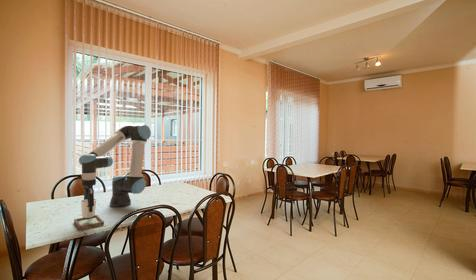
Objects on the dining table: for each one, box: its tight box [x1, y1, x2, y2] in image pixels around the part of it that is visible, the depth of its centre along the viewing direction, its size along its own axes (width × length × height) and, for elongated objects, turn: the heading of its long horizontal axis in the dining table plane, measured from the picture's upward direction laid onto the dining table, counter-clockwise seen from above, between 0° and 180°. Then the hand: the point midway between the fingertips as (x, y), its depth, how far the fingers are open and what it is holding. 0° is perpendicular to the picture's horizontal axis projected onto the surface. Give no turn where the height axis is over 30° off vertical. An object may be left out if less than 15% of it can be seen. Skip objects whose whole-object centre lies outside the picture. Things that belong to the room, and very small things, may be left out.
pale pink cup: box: [80, 198, 97, 218], centre depth 150 cm, size 8×8×10 cm
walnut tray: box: [73, 214, 105, 231], centre depth 151 cm, size 13×16×2 cm
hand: (88, 214), depth 151 cm, fingers closed on pale pink cup, 8 cm apart
